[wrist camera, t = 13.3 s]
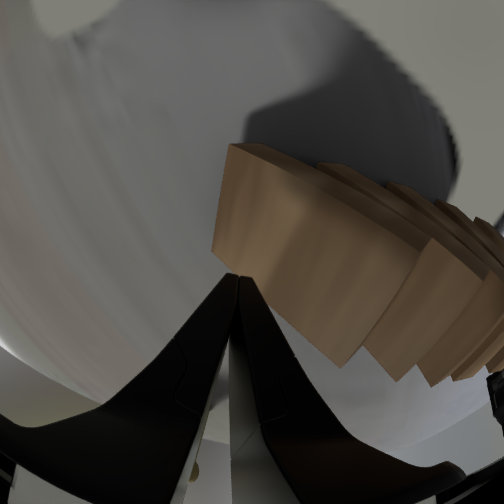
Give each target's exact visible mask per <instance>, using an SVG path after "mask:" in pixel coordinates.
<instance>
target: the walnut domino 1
mask: <svg viewBox="0 0 504 504" xmlns="http://www.w3.org/2000/svg"><path fill="white" fill-rule="evenodd" d="M431 239H432V237H431V236H429V235H428V234H426V233H425V232H423V231H422V230H421V229H419V228H417V227H416V226H414V225H413V224H411V223H410V222H408V221H407V220H405V219H404V218H402V217H400V216H399V215H397V214H396V213H394V212H392V211H391V210H389V209H388V208H386V207H384V206H383V205H381V204H379V203H378V202H376V201H374V200H372V199H371V198H369V197H367V196H366V195H364V194H362V193H360V192H359V191H357V190H355V189H353V188H351V187H349V186H348V185H346V184H344V183H342V182H340V181H338V180H336V179H335V178H333V177H331V176H329V175H327V174H325V173H323V172H321V171H319V170H317V169H315V168H313V167H311V166H309V165H307V164H305V163H303V162H301V161H299V160H297V159H294V158H292V157H290V156H288V155H286V154H284V153H281V152H279V151H277V150H275V149H273V148H270V147H268V146H266V145H263V144H261V143H241V144H229V147H228V152H227V158H226V164H225V169H224V175H223V181H222V187H221V193H220V199H219V205H218V211H217V218H216V224H215V231H214V238H213V244H212V252H213V253H214V254H215V255H216V256H217V257H218V258H219V259H220V260H221V261H222V262H223V263H224V264H225V265H226V266H227V267H228V268H230V269H231V270H232V271H233V272H234V273H235V274H237V275H239V277H240V276H241V275H243V276H249V277H252V278H253V279H254V281H255V283H256V285H257V287H258V289H259V290H260V292H261V294H262V296H263V298H264V300H265V301H266V303H267V304H268V305H269V306H270V307H271V308H273V309H274V310H275V311H276V312H277V313H278V314H279V315H280V316H281V317H282V318H284V319H285V320H286V321H287V322H288V323H289V324H290V325H291V326H292V327H294V328H295V329H296V330H297V331H298V332H299V333H300V334H301V335H302V336H304V337H305V338H306V339H307V340H308V341H309V342H310V343H311V344H313V345H314V346H315V347H316V348H317V349H318V350H319V351H320V352H322V353H323V354H324V355H325V356H326V357H327V358H328V359H330V360H331V361H332V362H333V363H334V364H335V365H336V366H338V367H339V368H340V369H341V368H342V366H343V365H344V364H345V363H346V362H347V361H348V360H349V359H350V358H351V357H352V356H353V355H354V354H355V353H356V352H357V351H358V349H359V348H360V347H361V346H362V345H363V344H364V342H365V341H366V340H367V339H368V337H369V336H370V335H371V333H372V332H373V331H374V329H375V328H376V327H377V325H378V324H379V322H380V321H381V320H382V318H383V317H384V315H385V314H386V313H387V311H388V310H389V308H390V307H391V305H392V304H393V302H394V301H395V299H396V298H397V296H398V295H399V293H400V292H401V290H402V289H403V287H404V285H405V284H406V282H407V281H408V279H409V277H410V276H411V274H412V272H413V271H414V269H415V267H416V266H417V264H418V262H419V261H420V259H421V257H422V255H423V254H424V252H425V250H426V248H427V246H428V245H429V243H430V241H431Z"/></svg>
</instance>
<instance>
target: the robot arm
mask: <svg viewBox="0 0 504 504" xmlns="http://www.w3.org/2000/svg"><path fill="white" fill-rule="evenodd" d="M228 339H229V416H230V455H231V483H232V504H504V457H502V458H500V459H498V460H497V461H495V462H493V463H491V464H489V465H487V466H485V467H484V468H482V469H480V470H477V471H475V472H474V473H471V474H469V475H467V476H466V474H465V473H464V471H463V470H462V469H461V468H460V467H458V466H456V465H455V464H453V463H451V462H449V461H445V462H442V463H439V464H437V465H434V466H432V467H418V466H414V465H411V464H408V463H406V462H403V461H401V460H399V459H397V458H394V457H392V456H390V455H388V454H385V453H384V452H382V451H379V450H377V449H375V448H373V447H371V446H369V445H367V444H365V443H363V442H361V441H360V440H358V439H356V438H355V437H354V436H352V435H351V434H350V433H349V432H348V431H347V430H346V429H345V428H344V427H343V425H342V424H341V423H340V421H339V420H338V419H337V417H336V416H335V415H334V413H333V412H332V411H331V409H330V408H329V407H328V405H327V404H326V403H325V401H324V400H323V399H322V397H321V396H320V395H319V393H318V392H317V390H316V389H315V388H314V386H313V385H312V383H311V382H310V380H309V379H308V377H307V375H306V374H305V372H304V370H303V369H302V367H301V365H300V363H299V362H298V360H297V358H296V357H295V354H294V353H293V351H292V349H291V347H290V345H289V344H288V342H287V340H286V338H285V336H284V334H283V333H282V331H281V329H280V327H279V325H278V323H277V322H276V320H275V318H274V316H273V314H272V312H271V311H270V309H269V307H268V305H267V303H266V301H265V300H264V298H263V296H262V294H261V292H260V290H259V289H258V287H257V285H256V283H255V281H254V279H253V278H252V277H249V276H243V275H241V276H240V277H239V275H237V274H232V273H226V274H225V275H224V276H223V278H222V279H221V280H220V281H219V282H218V284H217V285H216V286H215V287H214V288H213V290H212V291H211V292H210V293H209V294H208V296H207V297H206V298H205V299H204V300H203V302H202V303H201V304H200V305H199V307H198V308H197V309H196V310H195V311H194V313H193V314H192V315H191V316H190V317H189V319H188V320H187V321H186V322H185V323H184V325H183V326H182V327H181V328H180V330H179V331H178V332H177V333H176V334H175V336H174V337H173V338H172V339H171V340H170V341H169V343H168V344H167V345H166V346H165V347H164V349H163V350H162V351H161V352H160V353H159V354H158V355H157V356H156V358H155V359H154V360H153V361H152V362H151V363H150V364H149V365H147V366H146V367H145V368H144V369H143V370H142V371H141V372H140V373H139V374H138V375H137V376H136V377H135V378H133V379H132V380H131V381H130V382H129V383H128V384H127V385H126V386H125V387H123V388H122V389H121V390H120V391H119V392H118V393H117V394H116V395H115V396H113V397H112V398H111V399H110V400H108V401H107V402H106V403H104V404H103V405H101V406H99V407H97V408H95V409H93V410H91V411H88V412H85V413H82V414H79V415H76V416H73V417H70V418H67V419H64V420H60V421H57V422H54V423H51V424H48V425H44V426H40V427H23V426H19V425H17V424H15V423H13V422H12V421H11V420H9V419H8V418H6V417H5V416H3V415H2V414H0V504H183V500H184V497H185V493H186V489H187V486H188V482H189V479H190V475H191V472H192V468H193V465H194V461H195V458H196V454H197V450H198V447H199V443H200V440H201V436H202V433H203V429H204V425H205V422H206V418H207V415H208V411H209V408H210V404H211V400H212V397H213V393H214V390H215V386H216V383H217V379H218V375H219V372H220V368H221V365H222V361H223V358H224V354H225V350H226V347H227V343H228ZM486 380H487V387H488V391H489V396H490V400H491V405H492V410H493V417H494V418H496V419H497V421H498V422H499V424H501V425H502V430H503V436H504V369H503V370H500V371H497V372H494V373H493V374H492V375H489V376H488V377H487V378H486Z"/></svg>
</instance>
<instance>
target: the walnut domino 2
mask: <svg viewBox="0 0 504 504" xmlns="http://www.w3.org/2000/svg"><path fill="white" fill-rule="evenodd" d="M316 169H317V170H319V171H321V172H323V173H325V174H327V175H329V176H331V177H333V178H335V179H336V180H338V181H340V182H342V183H344V184H346V185H348V186H349V187H351V188H353V189H355V190H357V191H359V192H360V193H362V194H364V195H366V196H367V197H369V198H371V199H372V200H374V201H376V202H378V203H379V204H381V205H383V206H384V207H386V208H388V209H389V210H391V211H392V212H394V213H396V214H397V215H399V216H400V217H402V218H404V219H405V220H407V221H408V222H410V223H411V224H413V225H414V226H416V227H417V228H419V229H421V230H422V231H423V232H425V233H426V234H428V235H429V236H431V237H432V239H431V241H430V243H429V245H428V246H427V248H426V250H425V252H424V254H423V255H422V257H421V259H420V261H419V262H418V264H417V266H416V267H415V269H414V271H413V272H412V274H411V276H410V277H409V279H408V281H407V282H406V284H405V285H404V287H403V289H402V290H401V292H400V293H399V295H398V296H397V298H396V299H395V301H394V302H393V304H392V305H391V307H390V308H389V310H388V311H387V313H386V314H385V315H384V317H383V318H382V320H381V321H380V322H379V324H378V325H377V327H376V328H375V329H374V331H373V332H372V333H371V335H370V336H369V337H368V339H367V340H366V341H365V342H364V344H363V346H364V347H365V348H366V349H367V350H368V351H369V353H370V354H371V355H372V356H373V357H374V358H375V359H376V360H377V361H378V363H379V364H380V365H381V366H382V367H383V368H384V369H385V371H386V372H387V373H388V374H389V375H390V376H391V377H392V378H393V380H394V381H395V382H397V381H399V380H400V379H401V378H402V377H403V376H404V375H405V374H406V373H407V372H408V371H409V370H410V369H411V368H412V367H413V366H414V365H415V364H416V363H417V362H418V361H419V360H420V359H421V358H422V357H423V356H424V355H425V354H426V353H427V352H428V351H429V350H430V349H431V347H432V346H433V345H434V344H435V343H436V342H437V341H438V340H439V339H440V337H441V336H442V335H443V334H444V333H445V332H446V330H447V329H448V328H449V327H450V326H451V324H452V323H453V322H454V321H455V320H456V318H457V317H458V316H459V314H460V313H461V312H462V311H463V309H464V308H465V307H466V305H467V304H468V303H469V301H470V300H471V299H472V297H473V296H474V294H475V293H476V292H477V290H478V289H479V287H480V286H481V284H482V283H483V281H484V280H485V278H486V276H487V275H488V273H489V271H490V270H491V269H490V268H489V267H488V266H487V265H486V264H485V263H484V262H482V261H481V260H480V259H479V258H478V257H477V256H476V255H474V254H473V253H472V252H471V251H470V250H469V249H467V248H466V247H465V246H464V245H463V244H461V243H460V242H459V241H458V240H456V239H455V238H454V237H453V236H451V235H450V234H449V233H448V232H446V231H445V230H444V229H442V228H441V227H440V226H438V225H437V224H436V223H434V222H433V221H432V220H430V219H429V218H428V217H426V216H425V215H423V214H422V213H421V212H419V211H418V210H416V209H415V208H413V207H412V206H411V205H409V204H408V203H406V202H405V201H403V200H402V199H400V198H399V197H397V196H396V195H394V194H393V193H391V192H389V191H388V190H386V189H385V188H383V187H382V186H380V185H378V184H377V183H375V182H373V181H372V180H370V179H368V178H367V177H365V176H363V175H362V174H360V173H358V172H357V171H355V170H353V169H351V168H350V167H348V166H346V165H344V164H335V163H326V162H318V164H317V167H316Z"/></svg>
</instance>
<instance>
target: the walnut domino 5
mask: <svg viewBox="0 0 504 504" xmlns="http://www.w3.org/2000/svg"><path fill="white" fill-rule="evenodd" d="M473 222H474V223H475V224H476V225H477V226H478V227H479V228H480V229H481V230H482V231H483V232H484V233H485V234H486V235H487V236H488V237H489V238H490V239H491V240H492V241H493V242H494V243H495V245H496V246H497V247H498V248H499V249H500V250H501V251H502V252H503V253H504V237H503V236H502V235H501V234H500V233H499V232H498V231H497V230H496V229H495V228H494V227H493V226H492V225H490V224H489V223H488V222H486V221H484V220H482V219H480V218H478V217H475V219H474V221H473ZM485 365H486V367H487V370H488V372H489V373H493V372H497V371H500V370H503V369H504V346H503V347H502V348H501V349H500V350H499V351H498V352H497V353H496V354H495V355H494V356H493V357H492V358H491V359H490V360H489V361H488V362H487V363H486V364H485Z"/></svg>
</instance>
